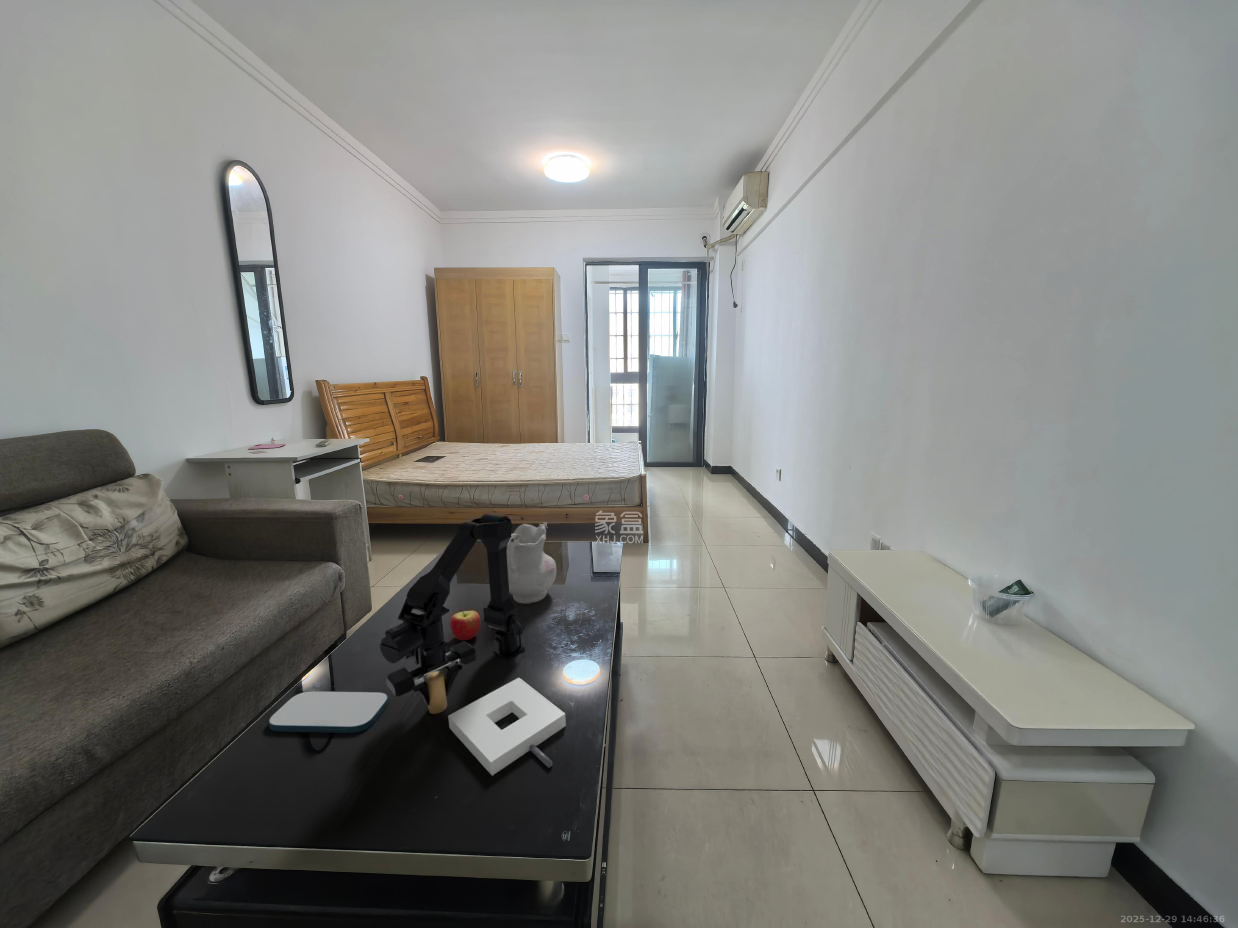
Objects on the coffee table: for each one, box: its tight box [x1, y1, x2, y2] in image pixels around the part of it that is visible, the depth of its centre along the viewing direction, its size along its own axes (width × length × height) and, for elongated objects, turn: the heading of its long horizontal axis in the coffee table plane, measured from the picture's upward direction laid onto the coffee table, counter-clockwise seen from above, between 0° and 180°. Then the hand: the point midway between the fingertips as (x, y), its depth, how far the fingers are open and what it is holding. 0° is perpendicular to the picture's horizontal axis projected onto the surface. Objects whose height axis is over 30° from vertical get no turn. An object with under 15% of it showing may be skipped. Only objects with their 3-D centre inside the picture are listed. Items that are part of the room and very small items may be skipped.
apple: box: [449, 608, 481, 641], centre depth 138 cm, size 8×8×10 cm
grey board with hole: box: [447, 677, 567, 776], centre depth 100 cm, size 18×24×3 cm
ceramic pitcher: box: [506, 523, 557, 605], centre depth 160 cm, size 22×20×25 cm
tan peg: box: [424, 670, 448, 715], centre depth 109 cm, size 4×4×8 cm
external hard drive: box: [268, 690, 389, 734], centre depth 108 cm, size 24×12×2 cm, turn 87°
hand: (437, 699), depth 109 cm, fingers closed on tan peg, 4 cm apart
